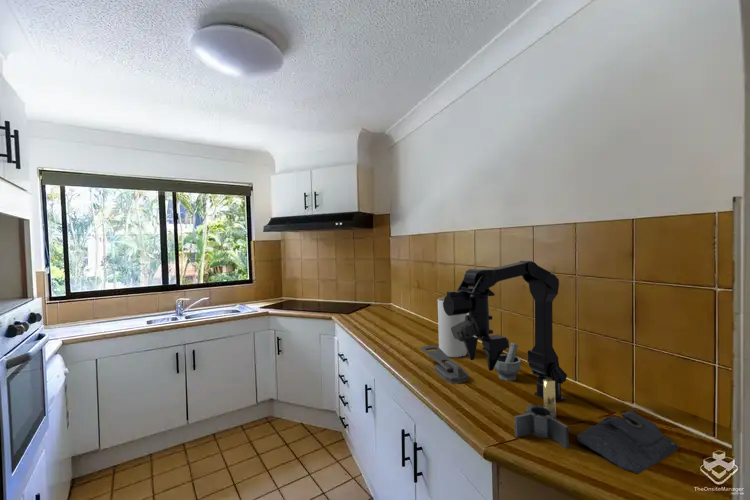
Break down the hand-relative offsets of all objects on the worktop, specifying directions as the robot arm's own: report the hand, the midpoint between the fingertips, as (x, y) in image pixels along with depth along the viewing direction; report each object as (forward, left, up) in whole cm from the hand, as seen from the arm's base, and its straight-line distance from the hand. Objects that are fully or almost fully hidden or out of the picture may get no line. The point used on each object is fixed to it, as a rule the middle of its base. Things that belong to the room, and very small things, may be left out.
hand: (480, 364), depth 94 cm
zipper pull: (-6, -33, -14) cm, 37 cm away
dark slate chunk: (-23, +24, -15) cm, 36 cm away
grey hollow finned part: (-6, +15, -14) cm, 22 cm away
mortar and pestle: (-25, -19, -14) cm, 34 cm away
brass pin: (-17, +8, -14) cm, 23 cm away
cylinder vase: (-20, -50, -14) cm, 56 cm away
